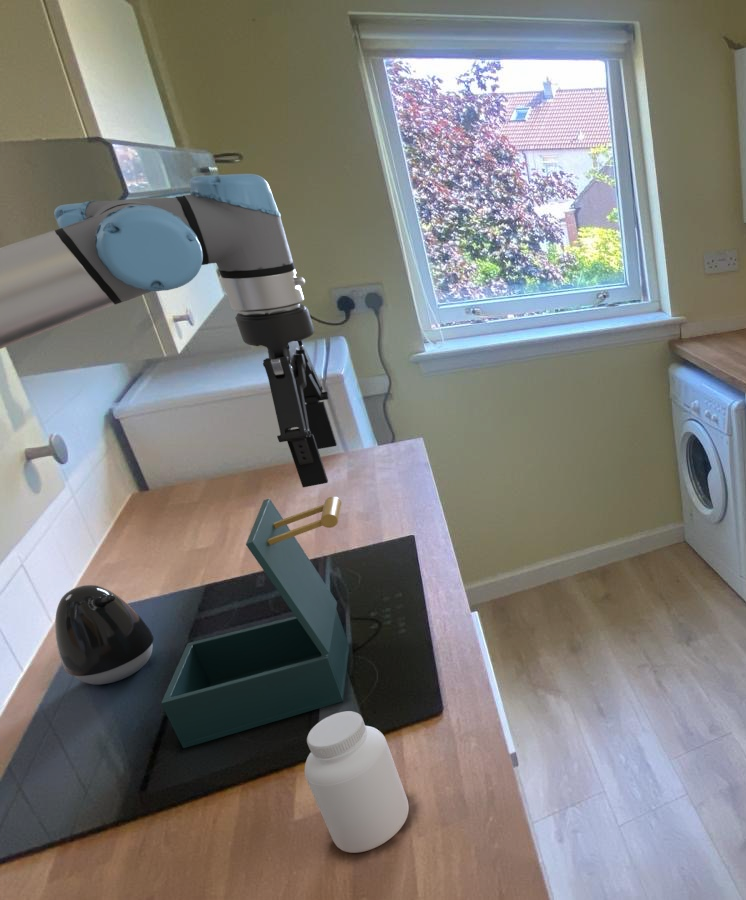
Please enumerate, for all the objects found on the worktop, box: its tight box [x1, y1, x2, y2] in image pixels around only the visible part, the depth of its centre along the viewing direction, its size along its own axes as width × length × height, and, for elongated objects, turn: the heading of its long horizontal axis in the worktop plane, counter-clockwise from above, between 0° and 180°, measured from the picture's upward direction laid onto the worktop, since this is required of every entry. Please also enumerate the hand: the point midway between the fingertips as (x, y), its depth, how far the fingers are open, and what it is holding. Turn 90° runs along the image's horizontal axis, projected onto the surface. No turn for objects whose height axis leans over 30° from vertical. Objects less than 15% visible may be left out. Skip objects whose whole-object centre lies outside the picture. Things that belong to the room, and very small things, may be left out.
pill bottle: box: [304, 710, 410, 854], centre depth 82 cm, size 8×8×15 cm
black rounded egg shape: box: [54, 584, 154, 685], centre depth 109 cm, size 10×10×15 cm
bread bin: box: [160, 608, 350, 749], centre depth 105 cm, size 19×14×8 cm
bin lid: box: [245, 496, 342, 656], centre depth 103 cm, size 19×14×9 cm
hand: (321, 464), depth 98 cm, fingers open, 13 cm apart
